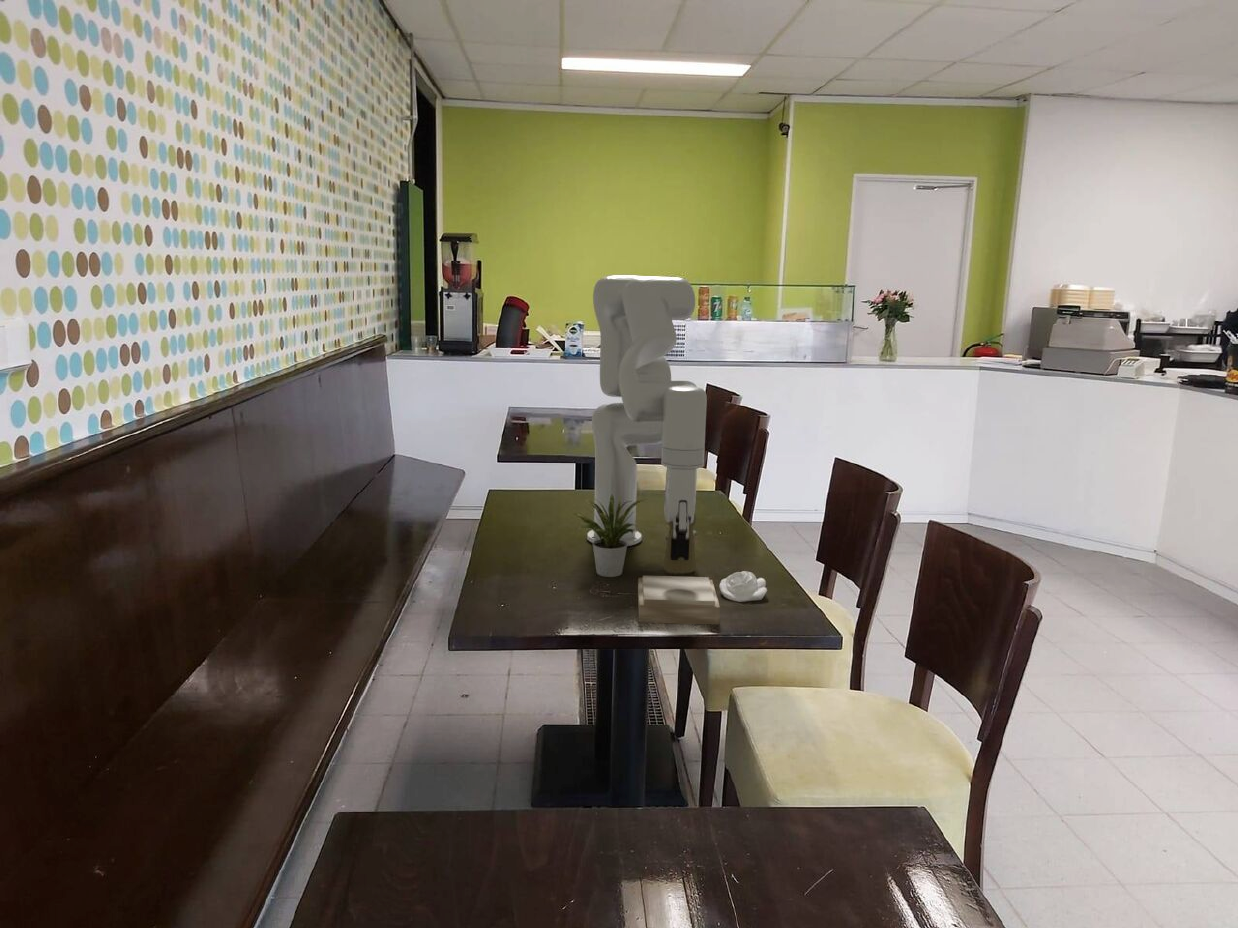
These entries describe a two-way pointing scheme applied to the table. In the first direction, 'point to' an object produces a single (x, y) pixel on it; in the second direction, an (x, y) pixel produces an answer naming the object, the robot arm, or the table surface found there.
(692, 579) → the birch plinth
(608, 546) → the house plant
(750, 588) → the rose
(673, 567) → the cork
